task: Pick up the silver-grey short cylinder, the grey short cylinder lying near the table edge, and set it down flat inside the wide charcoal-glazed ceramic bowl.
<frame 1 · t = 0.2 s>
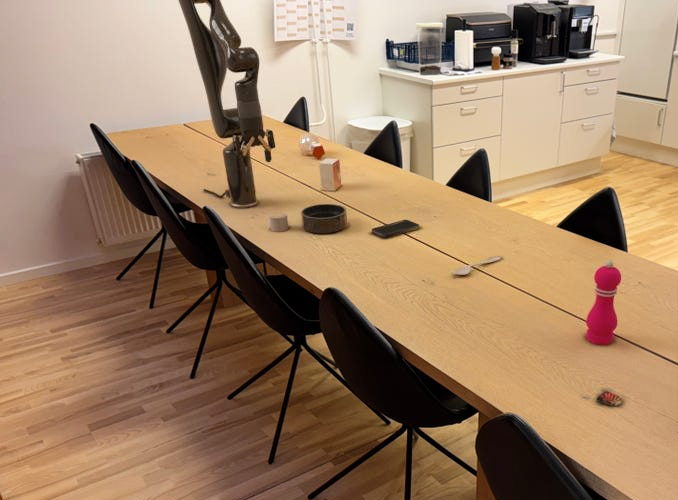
hand: (257, 164, 231), 17 cm above the table, tool pointing down, fingers open, 8 cm apart
grey short cylinder: (279, 228, 227), on the table
phone: (395, 230, 225), on the table
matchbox: (609, 400, 140), on the table
bowl: (325, 226, 228), on the table
potion bottle: (313, 156, 308), on the table
small box: (331, 188, 266), on the table
spoon: (477, 268, 199), on the table
pepper mill: (599, 339, 163), on the table
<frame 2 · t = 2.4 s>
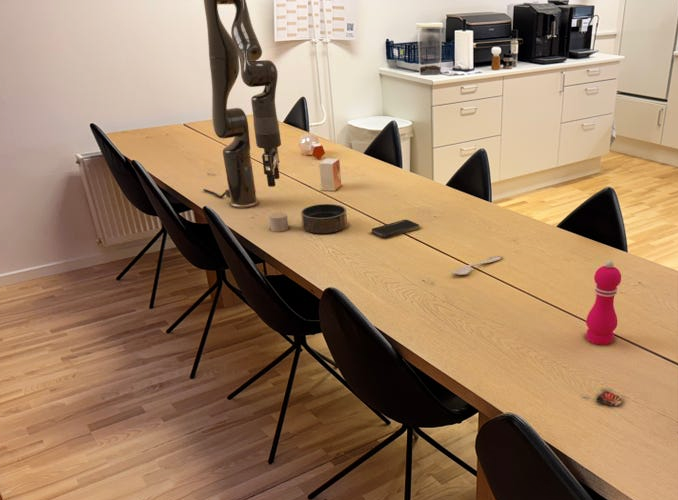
hand: (274, 182, 219), 15 cm above the table, tool pointing down, fingers open, 8 cm apart
nothing on the table moved.
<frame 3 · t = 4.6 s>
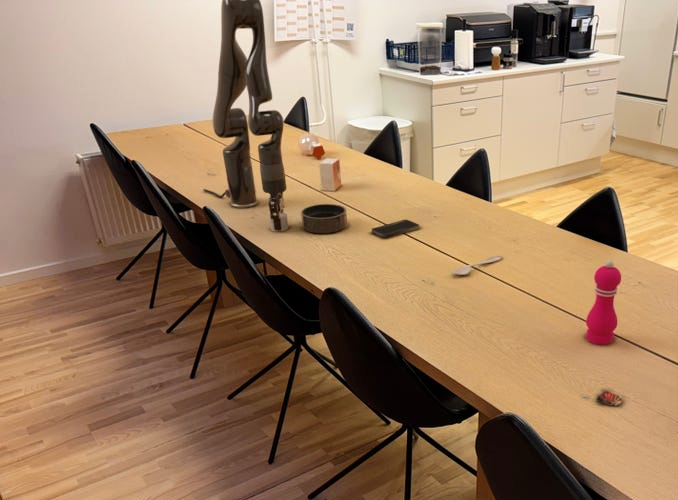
hand: (279, 226, 226), 1 cm above the table, tool pointing down, fingers closed on grey short cylinder, 6 cm apart
grey short cylinder: (279, 228, 227), on the table, touching gripper
everything else where it was.
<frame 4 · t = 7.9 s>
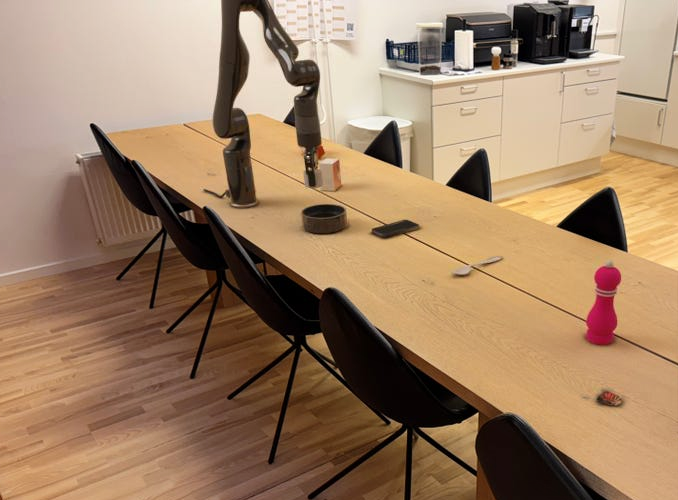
hand: (313, 183, 220), 15 cm above the table, tool pointing down, fingers closed on grey short cylinder, 6 cm apart
grey short cylinder: (313, 185, 221), point 14 cm above the table, touching gripper
everything else where it was.
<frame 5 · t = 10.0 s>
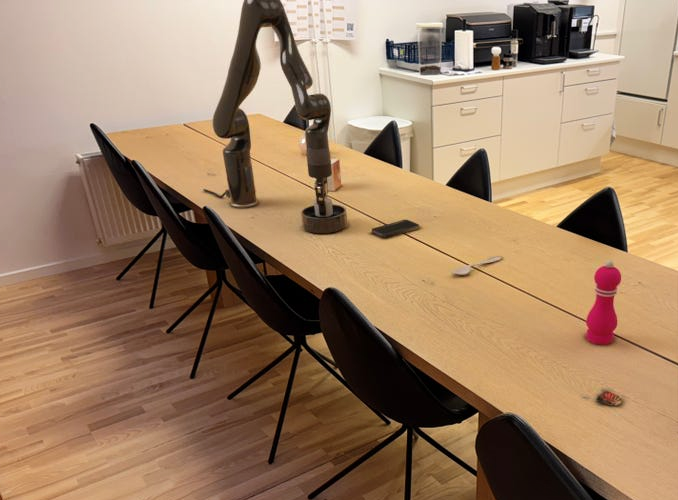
hand: (324, 211, 226), 5 cm above the table, tool pointing down, fingers closed on grey short cylinder, 6 cm apart
grey short cylinder: (324, 214, 226), point 4 cm above the table, touching gripper
everything else where it was.
when the fingers open (1 cm above the table, at t = 11.5 s): grey short cylinder stays where it is, resting on bowl.
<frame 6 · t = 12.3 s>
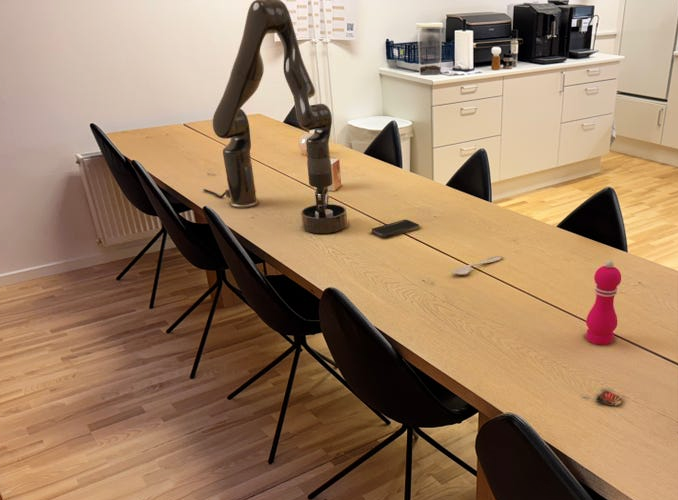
hand: (324, 218, 227), 3 cm above the table, tool pointing down, fingers open, 8 cm apart
grey short cylinder: (325, 225, 228), point 1 cm above the table, touching bowl
everything else where it was.
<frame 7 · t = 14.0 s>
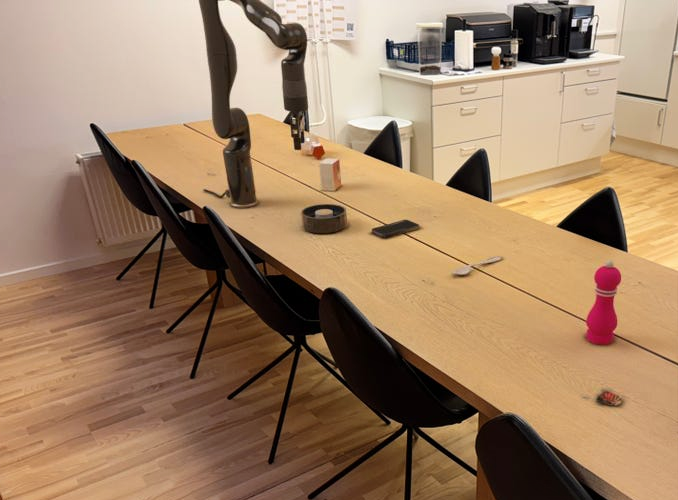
hand: (299, 146, 222), 25 cm above the table, tool pointing down, fingers open, 8 cm apart
nothing on the table moved.
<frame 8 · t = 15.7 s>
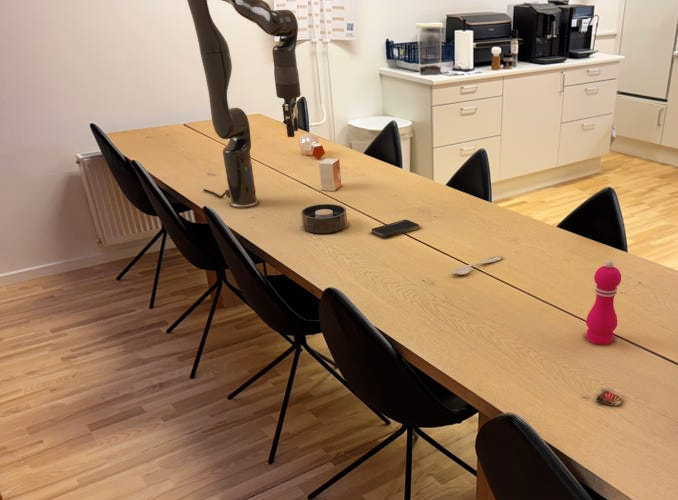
hand: (293, 133, 223), 28 cm above the table, tool pointing down, fingers open, 8 cm apart
nothing on the table moved.
at the end: grey short cylinder inside the target area in the bowl (0.0 cm from its centre), point 0.6 cm above the bowl's base; grey short cylinder tilted 0°; the gripper is holding nothing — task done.
